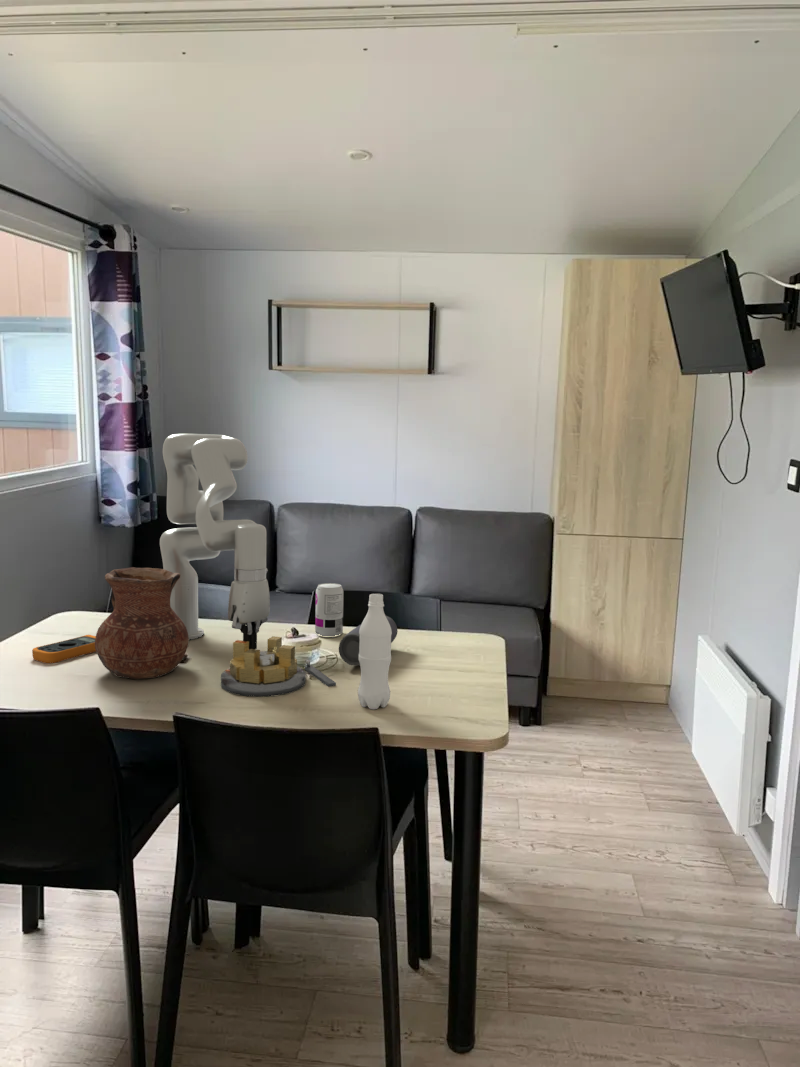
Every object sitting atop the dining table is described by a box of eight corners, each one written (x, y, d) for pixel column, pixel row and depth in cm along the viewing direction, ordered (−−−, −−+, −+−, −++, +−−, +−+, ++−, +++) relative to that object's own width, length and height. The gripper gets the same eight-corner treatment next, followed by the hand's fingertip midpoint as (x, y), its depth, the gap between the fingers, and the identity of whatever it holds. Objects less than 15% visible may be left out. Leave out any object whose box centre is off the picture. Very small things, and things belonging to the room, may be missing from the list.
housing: (216, 697, 171) (216, 667, 170) (225, 670, 191) (225, 643, 190) (305, 695, 173) (306, 666, 173) (305, 669, 193) (305, 642, 192)
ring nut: (279, 685, 173) (279, 655, 172) (219, 678, 177) (219, 648, 176) (305, 667, 187) (305, 638, 186) (249, 660, 191) (249, 633, 190)
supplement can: (310, 636, 225) (311, 586, 223) (321, 630, 233) (322, 581, 231) (336, 639, 222) (337, 589, 220) (346, 632, 230) (347, 584, 228)
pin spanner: (335, 687, 181) (336, 676, 181) (328, 688, 180) (328, 678, 180) (310, 668, 195) (310, 659, 195) (302, 669, 194) (303, 660, 194)
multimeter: (28, 660, 195) (28, 647, 195) (88, 645, 211) (88, 633, 211) (49, 666, 191) (49, 653, 191) (109, 650, 207) (108, 638, 206)
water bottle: (369, 713, 163) (371, 599, 160) (351, 703, 169) (353, 593, 166) (396, 707, 168) (399, 596, 165) (378, 697, 173) (380, 590, 170)
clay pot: (204, 664, 195) (204, 568, 192) (158, 689, 175) (156, 583, 172) (130, 655, 201) (128, 562, 198) (76, 679, 181) (73, 576, 178)
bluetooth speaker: (370, 672, 192) (371, 634, 191) (336, 668, 195) (336, 630, 194) (399, 649, 213) (400, 615, 212) (368, 646, 216) (369, 611, 215)
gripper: (261, 569, 191) (261, 639, 194) (215, 577, 179) (215, 652, 182) (283, 573, 187) (282, 645, 190) (237, 581, 175) (237, 658, 178)
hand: (249, 648), depth 186 cm, fingers closed
